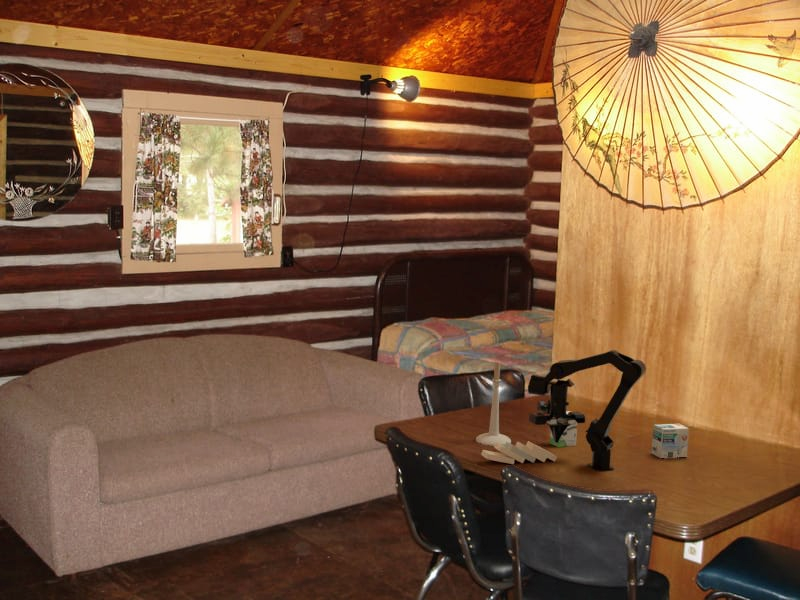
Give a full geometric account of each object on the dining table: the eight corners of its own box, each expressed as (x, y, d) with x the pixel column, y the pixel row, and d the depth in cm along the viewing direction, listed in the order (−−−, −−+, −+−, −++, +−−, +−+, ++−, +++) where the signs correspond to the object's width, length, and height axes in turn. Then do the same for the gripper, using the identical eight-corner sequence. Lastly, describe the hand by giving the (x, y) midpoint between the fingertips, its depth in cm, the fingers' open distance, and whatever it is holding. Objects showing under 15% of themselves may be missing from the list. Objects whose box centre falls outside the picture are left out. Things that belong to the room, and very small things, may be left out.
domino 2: (525, 458, 302) (501, 446, 299) (522, 463, 302) (499, 450, 299) (519, 454, 307) (496, 442, 303) (516, 459, 306) (493, 446, 303)
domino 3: (536, 458, 303) (512, 445, 300) (533, 462, 303) (509, 450, 300) (529, 454, 308) (506, 441, 305) (527, 458, 308) (504, 446, 305)
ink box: (557, 447, 323) (559, 415, 322) (549, 443, 327) (551, 412, 326) (576, 445, 327) (578, 413, 326) (568, 441, 331) (570, 410, 330)
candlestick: (470, 437, 332) (474, 357, 328) (501, 435, 336) (505, 356, 333) (485, 447, 320) (489, 364, 316) (517, 444, 324) (521, 363, 321)
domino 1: (514, 459, 301) (488, 453, 298) (513, 464, 301) (486, 459, 298) (509, 454, 305) (482, 449, 302) (507, 460, 306) (481, 454, 303)
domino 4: (546, 457, 304) (523, 445, 301) (544, 462, 304) (520, 450, 301) (540, 453, 309) (517, 441, 306) (538, 458, 309) (515, 445, 306)
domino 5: (557, 457, 305) (534, 445, 302) (554, 461, 305) (531, 449, 302) (551, 452, 310) (528, 440, 307) (548, 457, 310) (525, 445, 307)
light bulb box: (660, 459, 313) (663, 429, 312) (650, 453, 320) (652, 424, 319) (687, 457, 316) (690, 428, 315) (677, 452, 323) (679, 423, 321)
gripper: (572, 391, 316) (569, 435, 317) (523, 393, 310) (521, 437, 312) (587, 399, 305) (584, 443, 307) (537, 400, 300) (534, 446, 301)
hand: (556, 442), depth 307 cm, fingers closed
